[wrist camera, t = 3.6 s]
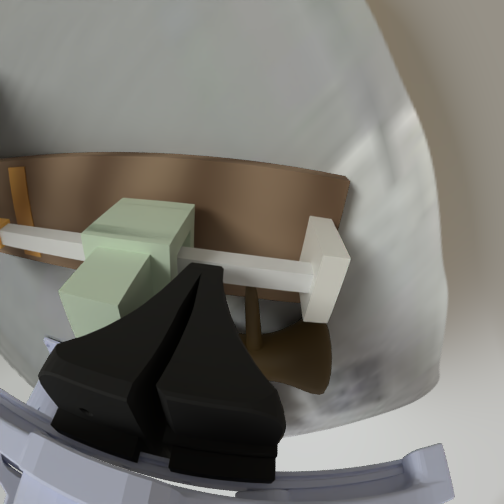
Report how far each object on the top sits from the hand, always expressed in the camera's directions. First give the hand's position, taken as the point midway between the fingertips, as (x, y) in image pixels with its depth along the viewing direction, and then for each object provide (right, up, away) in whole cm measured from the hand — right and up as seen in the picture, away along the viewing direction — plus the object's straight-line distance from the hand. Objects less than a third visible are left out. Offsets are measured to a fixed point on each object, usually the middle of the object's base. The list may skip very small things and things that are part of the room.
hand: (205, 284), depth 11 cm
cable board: (-7, +4, +5) cm, 9 cm away
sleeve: (-3, +2, +3) cm, 5 cm away
